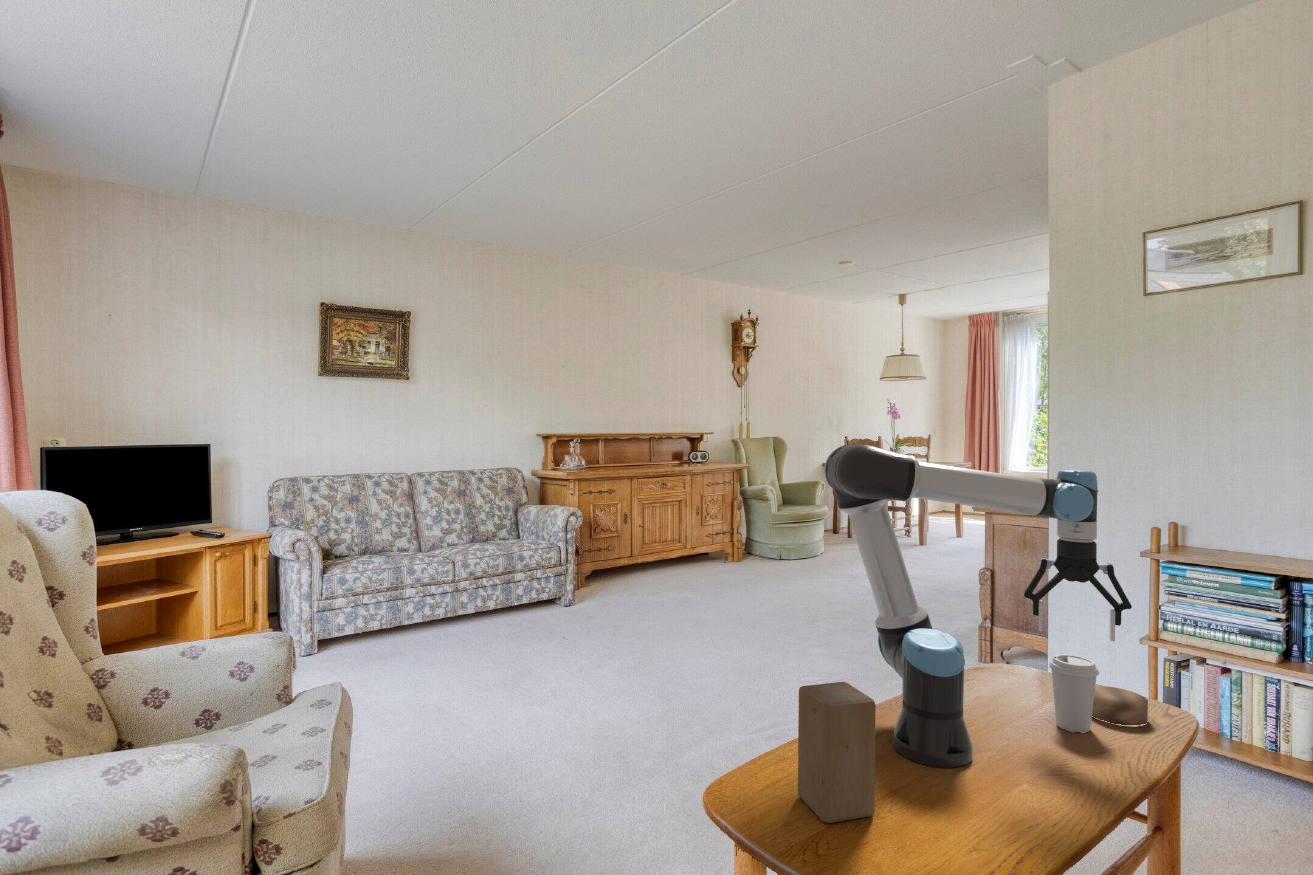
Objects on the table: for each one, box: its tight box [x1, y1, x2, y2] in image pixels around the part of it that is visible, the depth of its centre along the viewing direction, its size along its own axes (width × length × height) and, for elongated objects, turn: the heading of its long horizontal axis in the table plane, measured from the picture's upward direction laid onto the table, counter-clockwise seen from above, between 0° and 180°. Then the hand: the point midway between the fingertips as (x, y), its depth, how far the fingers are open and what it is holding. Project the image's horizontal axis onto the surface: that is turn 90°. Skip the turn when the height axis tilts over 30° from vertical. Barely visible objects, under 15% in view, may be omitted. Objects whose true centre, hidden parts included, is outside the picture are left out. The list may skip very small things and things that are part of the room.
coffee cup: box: [1048, 653, 1100, 733], centre depth 151 cm, size 10×10×15 cm
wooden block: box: [797, 681, 876, 824], centre depth 118 cm, size 10×10×20 cm
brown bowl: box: [1092, 685, 1149, 725], centre depth 158 cm, size 12×12×5 cm
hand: (1075, 634), depth 151 cm, fingers open, 13 cm apart
